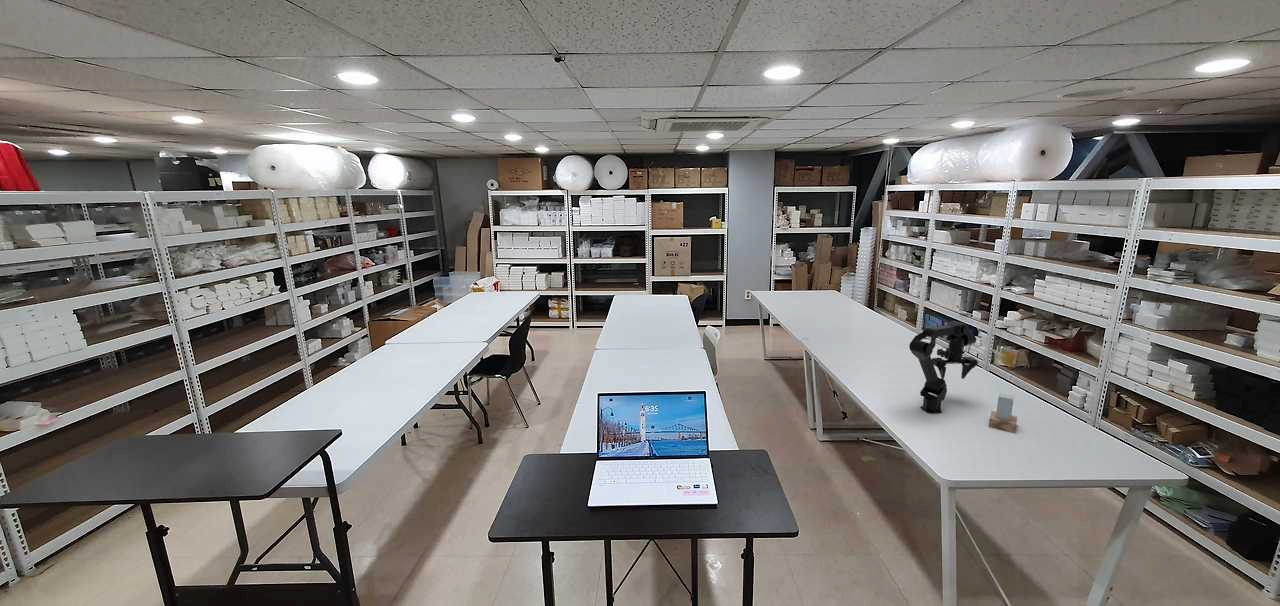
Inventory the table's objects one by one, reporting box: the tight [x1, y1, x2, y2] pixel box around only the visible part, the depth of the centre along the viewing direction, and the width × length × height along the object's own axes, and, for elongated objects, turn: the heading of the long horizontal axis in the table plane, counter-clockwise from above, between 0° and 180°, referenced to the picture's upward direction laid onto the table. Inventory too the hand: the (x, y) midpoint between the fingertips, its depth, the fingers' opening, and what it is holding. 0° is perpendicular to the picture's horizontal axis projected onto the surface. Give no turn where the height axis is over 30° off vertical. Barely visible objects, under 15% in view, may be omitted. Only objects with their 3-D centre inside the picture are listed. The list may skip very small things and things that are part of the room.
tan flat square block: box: [988, 410, 1018, 433], centre depth 204 cm, size 9×9×4 cm
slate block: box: [995, 392, 1015, 421], centre depth 203 cm, size 5×5×10 cm
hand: (952, 378), depth 225 cm, fingers open, 9 cm apart
